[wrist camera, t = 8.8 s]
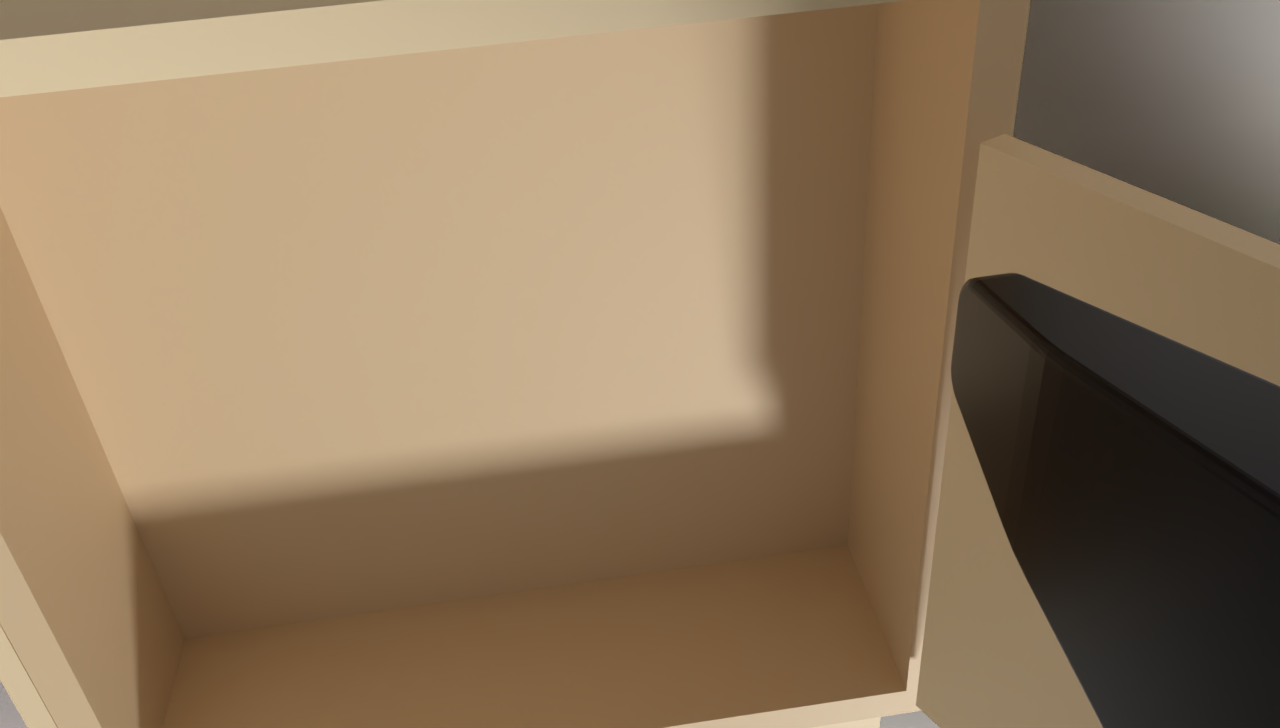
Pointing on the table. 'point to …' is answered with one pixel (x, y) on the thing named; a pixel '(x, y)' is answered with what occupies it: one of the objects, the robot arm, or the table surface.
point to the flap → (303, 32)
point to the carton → (493, 378)
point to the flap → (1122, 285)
